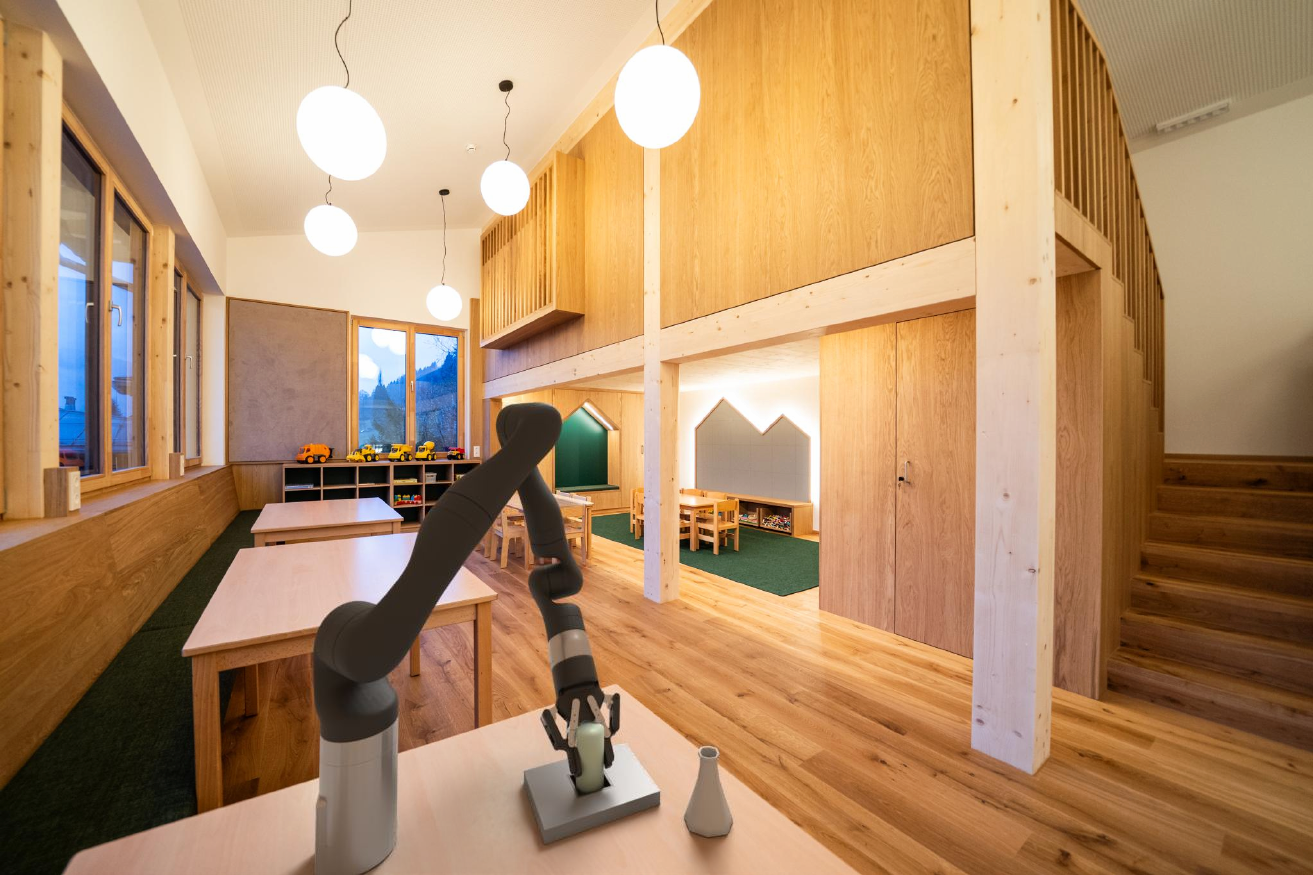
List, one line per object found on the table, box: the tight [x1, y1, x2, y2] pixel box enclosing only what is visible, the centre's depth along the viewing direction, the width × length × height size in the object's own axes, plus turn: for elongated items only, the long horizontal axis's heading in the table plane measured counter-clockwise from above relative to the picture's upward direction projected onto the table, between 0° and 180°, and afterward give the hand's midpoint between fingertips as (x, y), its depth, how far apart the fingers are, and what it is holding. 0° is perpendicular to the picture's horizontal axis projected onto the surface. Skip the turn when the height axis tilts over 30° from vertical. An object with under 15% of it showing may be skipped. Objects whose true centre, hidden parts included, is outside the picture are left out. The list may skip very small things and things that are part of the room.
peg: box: [575, 722, 605, 796], centre depth 79 cm, size 4×4×10 cm
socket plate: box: [523, 742, 661, 846], centre depth 79 cm, size 18×14×2 cm
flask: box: [683, 745, 734, 838], centre depth 74 cm, size 7×7×10 cm
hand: (594, 770), depth 78 cm, fingers closed on peg, 4 cm apart
